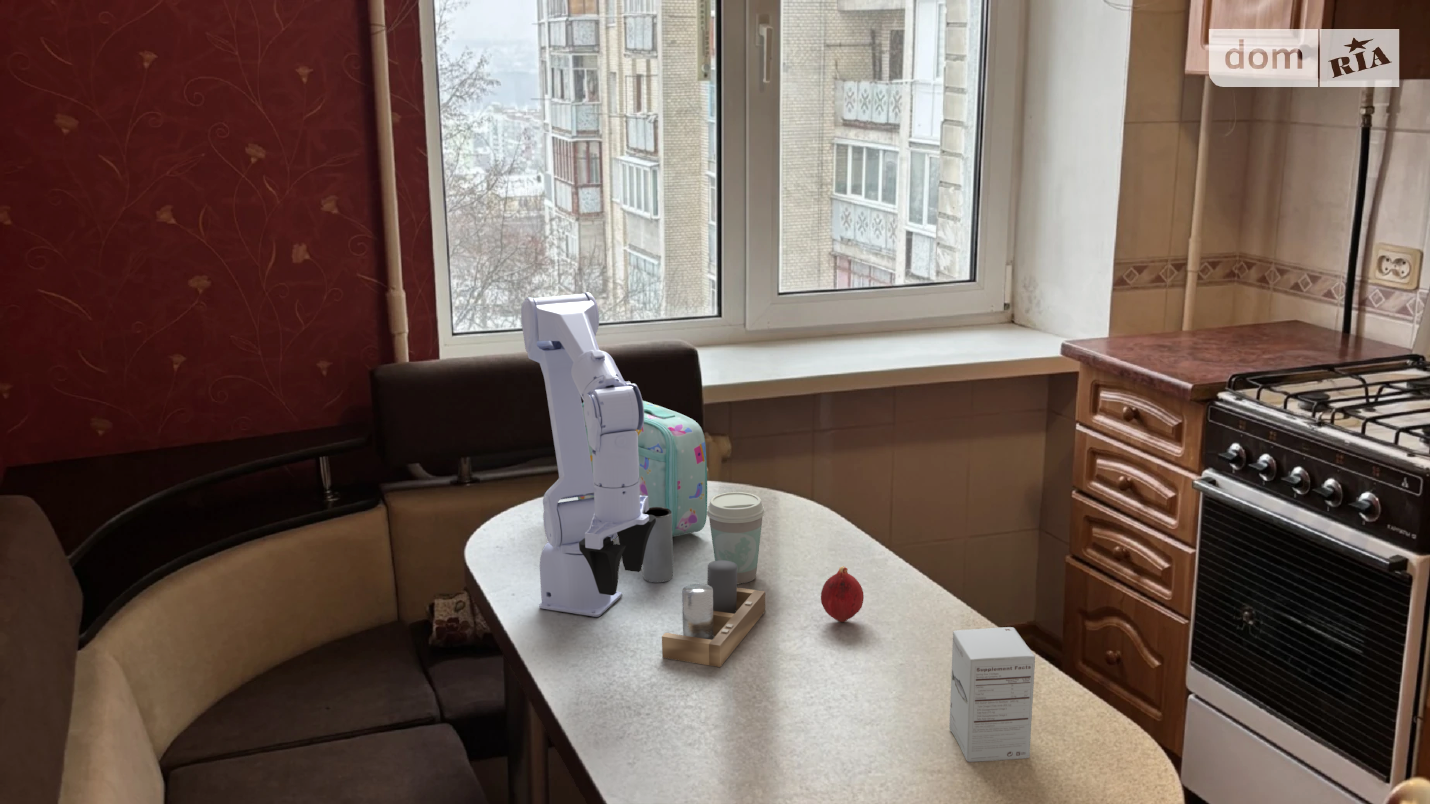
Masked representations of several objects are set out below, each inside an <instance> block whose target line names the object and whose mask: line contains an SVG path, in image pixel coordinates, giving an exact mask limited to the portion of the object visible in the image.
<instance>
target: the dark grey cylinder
mask: <svg viewBox="0 0 1430 804" xmlns="http://www.w3.org/2000/svg"><path fill="white" fill-rule="evenodd" d="M707 585H709V586H711V587H712V588H713V611H719V612H725V613H732V614H735V613H736V612H737V611H736V600H737V588H738V586H737V585H738V584H737V565H736V564H735V563H733V562H731V561H725V560H719V561H715V560H713V561H711V562H709V563H708V564H707Z"/></svg>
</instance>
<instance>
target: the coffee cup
mask: <svg viewBox="0 0 1430 804" xmlns="http://www.w3.org/2000/svg"><path fill="white" fill-rule="evenodd" d="M765 513H766V512H765V507H764V505H763V503H762V499H761V498H760V496H758V495H756V494H753V493H750V492H742V491H732V492H724V493H723V492H722V493H720V494H715V496H713V497H711V499H710V501H709V504H708V505H707V517H708V519H709V526H710V527H709V528H710V536H711V542H712V549H713V555H714V561H719V560H725V561H731V562H733V563H735V564H736V565H737V585H739V584H741V583H742V584H747V583H749V582H752V581H753V579H754V580H755V579H756V578H757V570H758V562H759V552H760V544H761V533H762V524H763V517H764V516H765V515H766V514H765ZM742 584H741V585H742Z"/></svg>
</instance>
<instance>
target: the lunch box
mask: <svg viewBox="0 0 1430 804" xmlns="http://www.w3.org/2000/svg"><path fill="white" fill-rule="evenodd" d="M643 406H644V424H643V427H642V429H641V430H638V429H636V432H637V433H638V458H639V487H640V495H641V496H648V503H649V508H651V507H664V508H668V509H670V510H671V512H672V538H674V537H678V536H683V535H688V534H692V533H696V532H700V531H701V530H703V529H704V527H705V525H706V523H707V517H708V516H707V511H708V510H707V508H708V467H707V449H706V448H707V447H706V446H707V445H706V439H705V438H706V437H705V435H704V432H703V429H702V427H701V426H700V424H699V423H698V422H696V420H694V419H693V418H690V417H689V416H687V415H684V414H682V413H680V412H677V411H675V410H671V409H668V408H666V407H663V406H661V405H658V404H655V403H654V404H653V403H652V402H648V401H646V400H643ZM582 408H583V415H584V401H583V402H582ZM584 421H585V416H584ZM585 428H586V434H587V441H588V431H587V426H586V421H585ZM588 447H589V454H590V460H591V466H592V473H593V459H592V447H591V446H590V445H589V441H588ZM593 497H594V496H593V495H588V496H581V497H577V500H580V499H587V498H593Z"/></svg>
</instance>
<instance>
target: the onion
mask: <svg viewBox="0 0 1430 804" xmlns="http://www.w3.org/2000/svg"><path fill="white" fill-rule="evenodd" d="M848 569H849V568H847V567H846V566H844V565H842V566H840V567H839V569H838V571H837V572H836V573H835V574H833V575H831V576H830V577H828V578H827V579H826V581H825V582H824V584H823V586H822V589H821V593H820V602H821V605H822V607H823V609H824V611H825V613H827V614H828V616H830V617H831V618H832V619H834V620H836V621H838V622H839V623H845V622H847V621H849V620H850V619H852V618H853V617H854V616H855V615H857V614H858V613H859V612H860V611H861V609H862V608H863V604H864V596H865V595H864V591H863V590H864V589H863V587H862V585H861V583H860V582H859V581H858V580H857V578H856V577H854V575H852V574H850V573H849V572H848V571H849V570H848Z"/></svg>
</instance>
